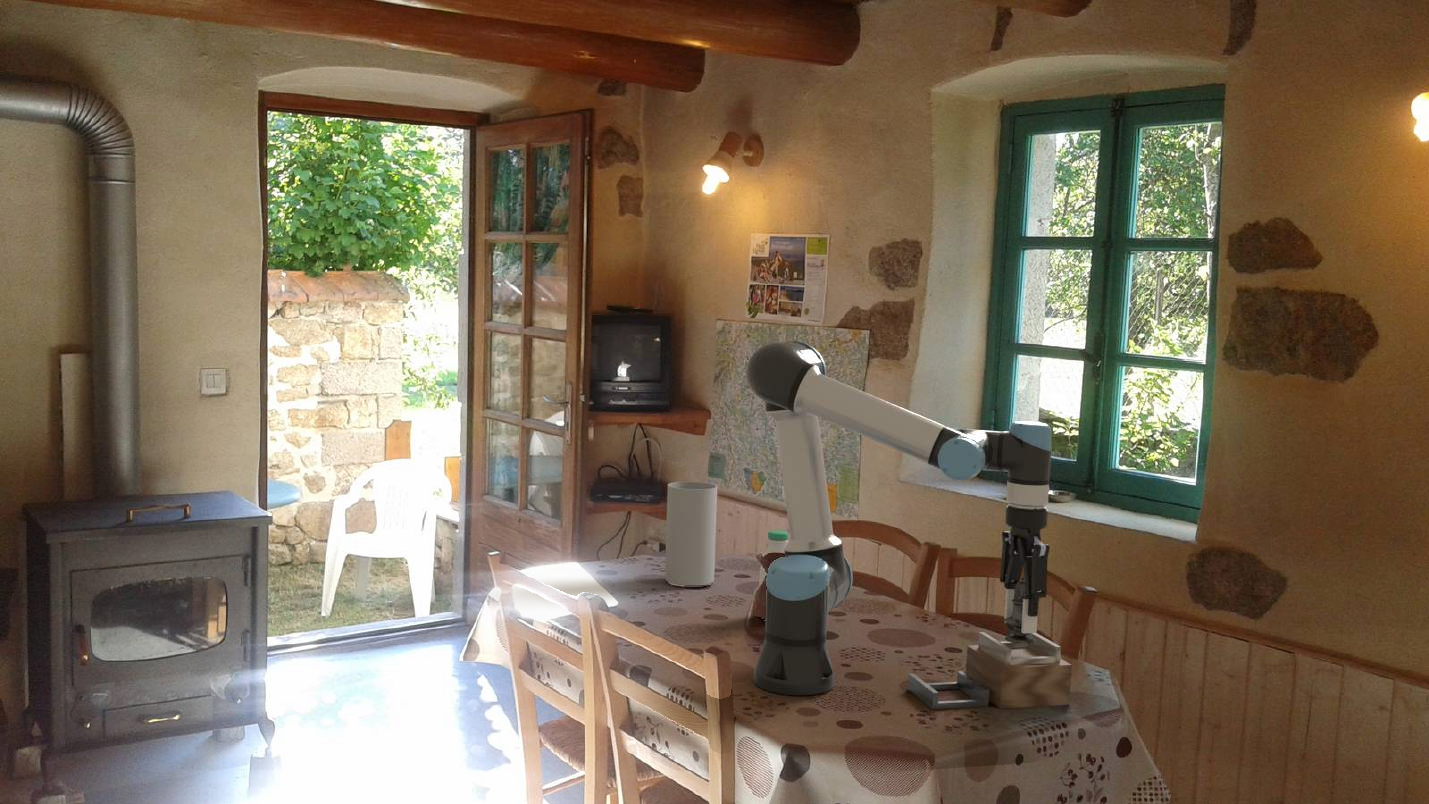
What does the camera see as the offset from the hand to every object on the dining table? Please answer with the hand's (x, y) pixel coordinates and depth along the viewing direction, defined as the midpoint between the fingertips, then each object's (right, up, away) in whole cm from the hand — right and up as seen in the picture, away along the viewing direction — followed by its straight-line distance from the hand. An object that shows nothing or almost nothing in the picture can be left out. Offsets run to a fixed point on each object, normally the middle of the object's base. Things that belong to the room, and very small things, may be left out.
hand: (1020, 627), depth 223 cm
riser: (-1, -13, +1) cm, 13 cm away
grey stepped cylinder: (0, -3, 0) cm, 3 cm away
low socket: (-14, -12, -2) cm, 19 cm away
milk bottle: (-43, -7, +49) cm, 66 cm away
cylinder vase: (-64, -4, +80) cm, 102 cm away
